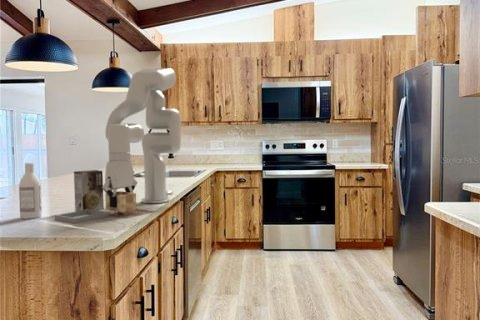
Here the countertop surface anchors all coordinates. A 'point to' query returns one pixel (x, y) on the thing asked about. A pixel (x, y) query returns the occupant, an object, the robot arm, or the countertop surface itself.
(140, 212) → the board
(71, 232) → the countertop surface
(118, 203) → the wooden block
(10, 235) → the countertop surface
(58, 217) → the tray
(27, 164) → the bath foam
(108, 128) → the robot arm
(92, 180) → the coffee box
